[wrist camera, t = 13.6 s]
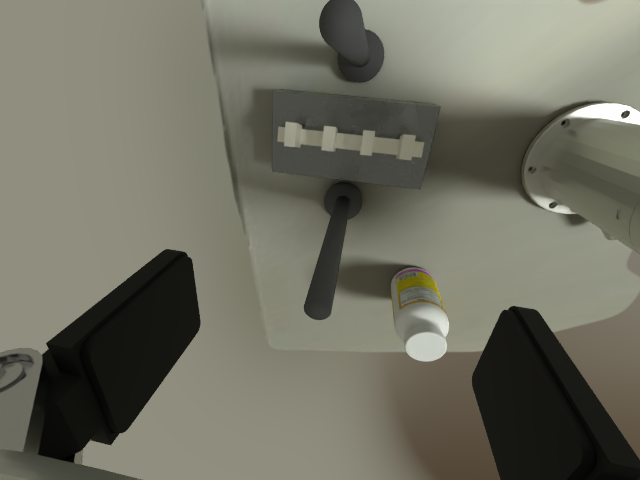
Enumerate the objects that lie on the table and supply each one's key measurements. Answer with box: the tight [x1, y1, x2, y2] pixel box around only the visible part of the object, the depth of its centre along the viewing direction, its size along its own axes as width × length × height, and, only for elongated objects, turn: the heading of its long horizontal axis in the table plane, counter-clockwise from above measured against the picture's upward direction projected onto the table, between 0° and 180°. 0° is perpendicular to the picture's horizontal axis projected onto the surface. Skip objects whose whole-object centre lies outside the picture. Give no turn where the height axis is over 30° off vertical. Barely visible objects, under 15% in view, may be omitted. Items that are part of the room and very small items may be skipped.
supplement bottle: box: [391, 267, 449, 361], centre depth 42 cm, size 7×7×13 cm
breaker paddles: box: [277, 122, 424, 160], centre depth 33 cm, size 16×2×4 cm, turn 86°
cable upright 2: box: [304, 182, 362, 320], centre depth 32 cm, size 5×5×23 cm
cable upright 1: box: [319, 0, 384, 83], centre depth 24 cm, size 5×5×23 cm
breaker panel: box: [272, 89, 441, 189], centre depth 37 cm, size 18×9×4 cm, turn 86°
